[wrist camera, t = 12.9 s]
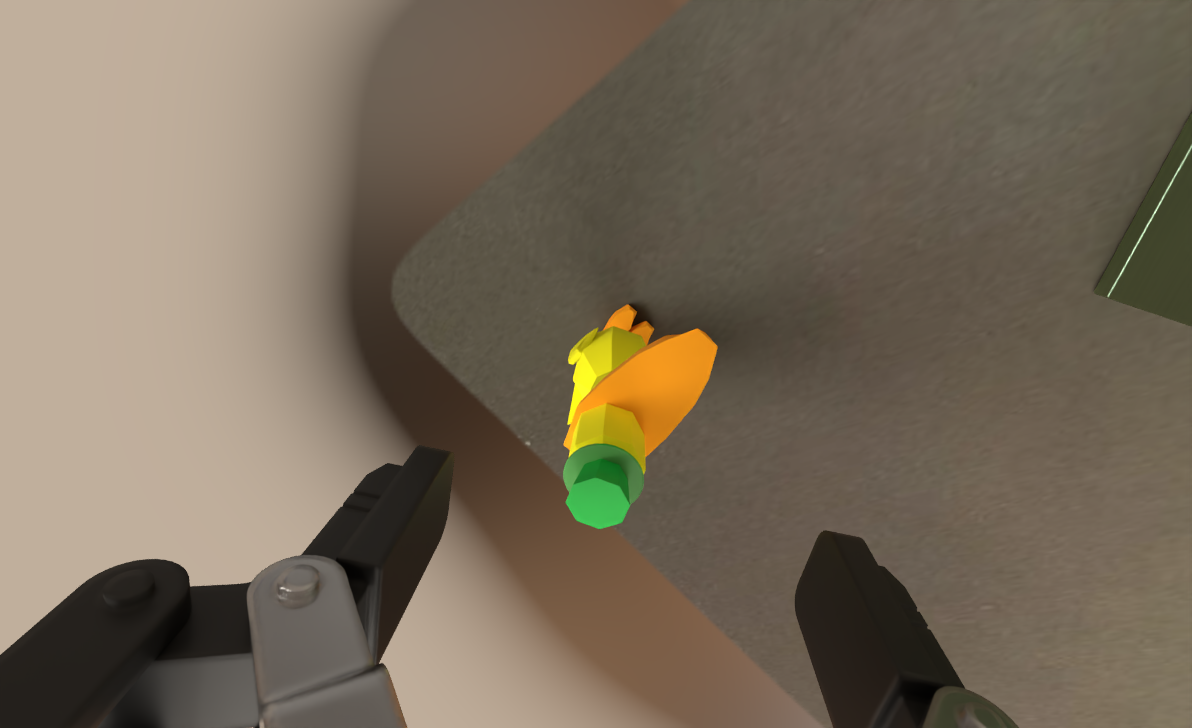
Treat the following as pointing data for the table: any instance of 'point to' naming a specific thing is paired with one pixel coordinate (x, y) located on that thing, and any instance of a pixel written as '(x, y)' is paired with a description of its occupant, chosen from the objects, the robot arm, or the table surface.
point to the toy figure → (626, 410)
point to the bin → (1159, 243)
